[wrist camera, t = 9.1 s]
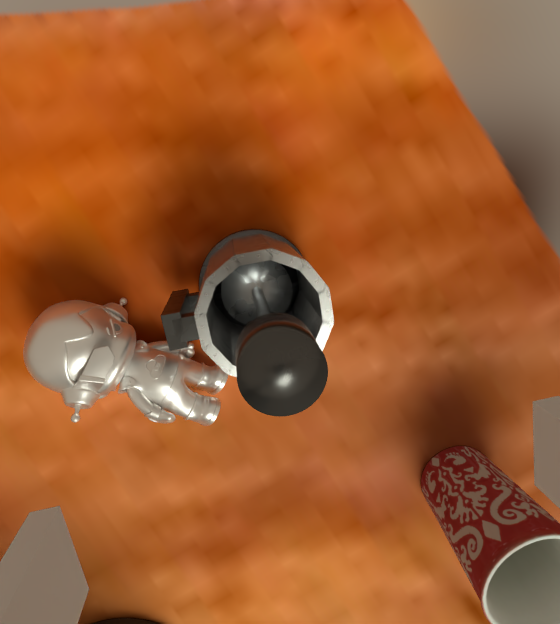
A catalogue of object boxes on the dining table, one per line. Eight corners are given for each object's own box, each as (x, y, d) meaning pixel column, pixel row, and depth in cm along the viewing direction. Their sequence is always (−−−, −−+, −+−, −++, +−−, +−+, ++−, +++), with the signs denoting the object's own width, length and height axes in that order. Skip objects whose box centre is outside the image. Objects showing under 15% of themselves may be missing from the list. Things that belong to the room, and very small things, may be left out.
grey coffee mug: (191, 349, 40) (180, 405, 30) (166, 244, 37) (144, 265, 27) (316, 325, 40) (346, 371, 30) (299, 219, 38) (326, 231, 28)
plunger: (228, 329, 37) (231, 443, 21) (214, 262, 36) (205, 326, 19) (296, 316, 38) (352, 418, 21) (285, 248, 36) (336, 301, 20)
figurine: (217, 455, 34) (-2, 384, 28) (178, 465, 39) (-11, 408, 33) (246, 330, 39) (69, 248, 33) (208, 355, 45) (51, 288, 39)
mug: (392, 481, 46) (458, 598, 33) (459, 419, 45) (556, 514, 32) (468, 548, 49) (556, 678, 36) (533, 491, 48) (647, 604, 35)
